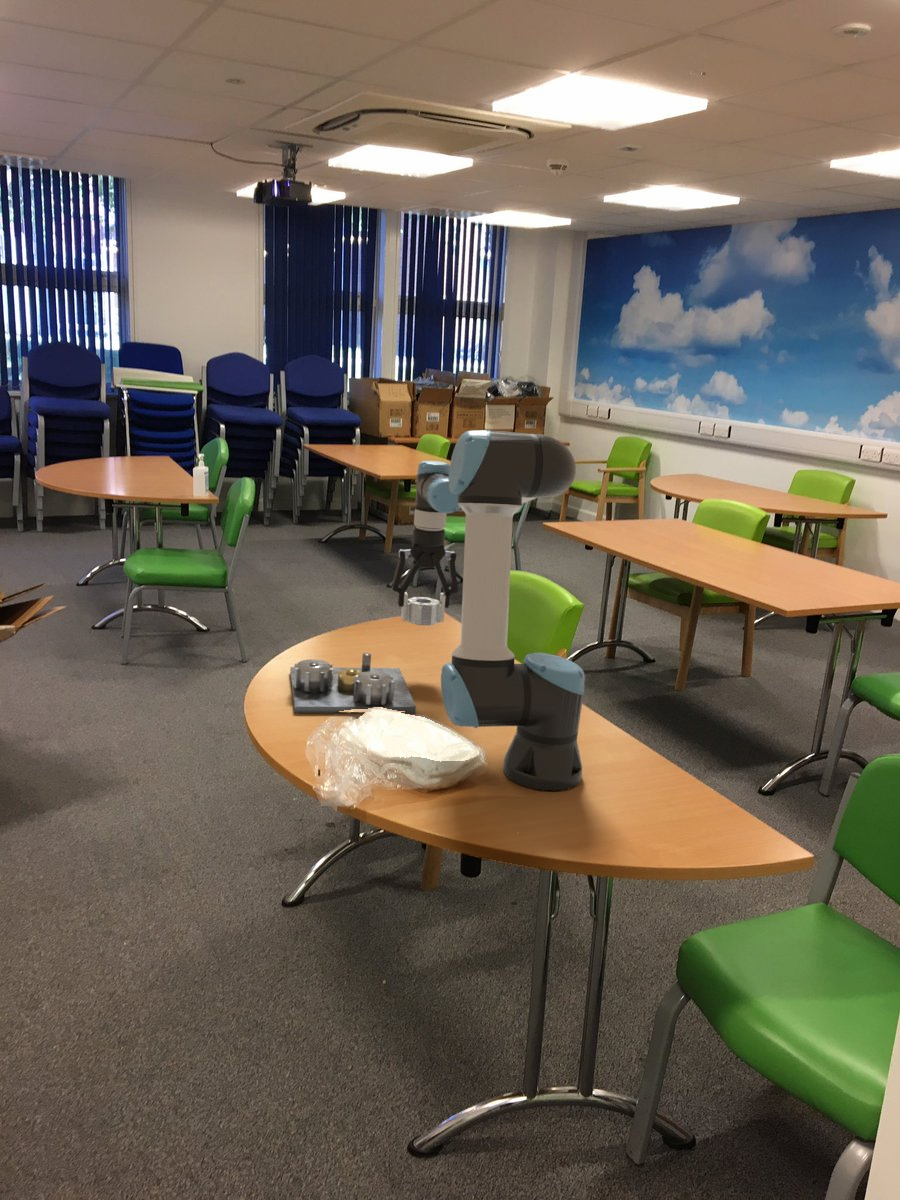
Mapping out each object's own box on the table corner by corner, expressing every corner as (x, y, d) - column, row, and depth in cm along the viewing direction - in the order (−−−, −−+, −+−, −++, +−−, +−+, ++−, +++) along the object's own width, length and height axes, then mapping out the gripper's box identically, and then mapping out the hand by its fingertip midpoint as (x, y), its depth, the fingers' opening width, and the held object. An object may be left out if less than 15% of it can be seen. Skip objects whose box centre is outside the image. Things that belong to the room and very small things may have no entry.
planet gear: (442, 626, 221) (444, 606, 220) (407, 625, 219) (409, 605, 218) (436, 616, 229) (437, 596, 228) (402, 615, 227) (403, 595, 226)
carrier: (415, 713, 203) (417, 684, 201) (294, 713, 197) (296, 683, 195) (398, 674, 225) (400, 647, 223) (290, 673, 220) (291, 645, 218)
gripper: (469, 526, 224) (461, 616, 230) (382, 522, 220) (376, 614, 226) (476, 532, 217) (468, 625, 223) (386, 528, 213) (380, 623, 218)
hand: (422, 619), depth 224 cm, fingers closed on planet gear, 8 cm apart
